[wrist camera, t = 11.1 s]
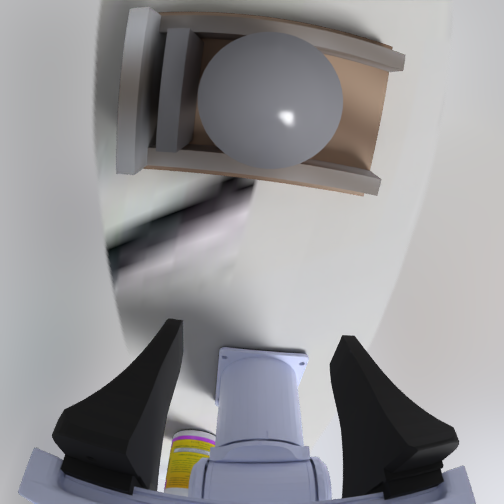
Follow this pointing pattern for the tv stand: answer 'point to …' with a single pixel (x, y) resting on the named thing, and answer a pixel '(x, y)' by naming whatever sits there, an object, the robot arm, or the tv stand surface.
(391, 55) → the tray
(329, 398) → the tv stand surface
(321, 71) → the jar
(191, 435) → the supplement bottle
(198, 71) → the pusher plate
